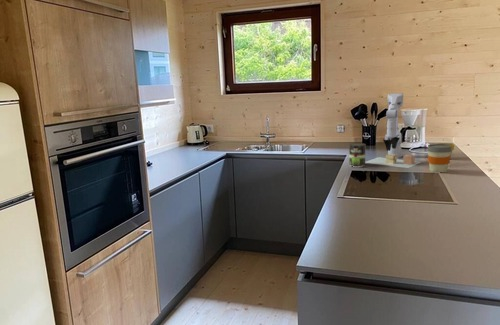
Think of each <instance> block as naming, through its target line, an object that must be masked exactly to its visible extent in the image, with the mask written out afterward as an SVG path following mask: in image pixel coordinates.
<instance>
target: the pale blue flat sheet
mask: <svg viewBox="0 0 500 325" xmlns="http://www.w3.org/2000/svg"><path fill="white" fill-rule="evenodd" d="M385 161H386V157H382V156H379V157H378V156H377V157H375V158H372V159H369V160H365V164H374V165H381V166H388V167H396V168H397V167H398V168H405V169H409V168H411V167H414V166H416V165H418V164H420V163H422V161H418V160H417V161H416V160H415V162H414V163H413V164H403V159H399V158H397V159H396V163H394V164H390V163H385Z"/></svg>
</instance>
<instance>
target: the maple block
mask: <svg viewBox="0 0 500 325" xmlns="http://www.w3.org/2000/svg"><path fill="white" fill-rule="evenodd" d="M385 158H386V161H385V163H390V164H394V163H396V159H398V158H397V155H393V154H388V153H387V154H386V155H385Z"/></svg>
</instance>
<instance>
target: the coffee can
mask: <svg viewBox="0 0 500 325" xmlns="http://www.w3.org/2000/svg"><path fill="white" fill-rule="evenodd" d="M348 145H349V147H348V151H349V154H348V155H349V156H348V158H349V159H348V160H349V162H348V164H349V165H350V166H349V165H348V166H349V167H351V166H353V167H352V168H363V166H364V167H365V166H366V163H365V162H366V146H367V144H366V143H362V142H355V143H354V142H352V143H349V144H348Z"/></svg>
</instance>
